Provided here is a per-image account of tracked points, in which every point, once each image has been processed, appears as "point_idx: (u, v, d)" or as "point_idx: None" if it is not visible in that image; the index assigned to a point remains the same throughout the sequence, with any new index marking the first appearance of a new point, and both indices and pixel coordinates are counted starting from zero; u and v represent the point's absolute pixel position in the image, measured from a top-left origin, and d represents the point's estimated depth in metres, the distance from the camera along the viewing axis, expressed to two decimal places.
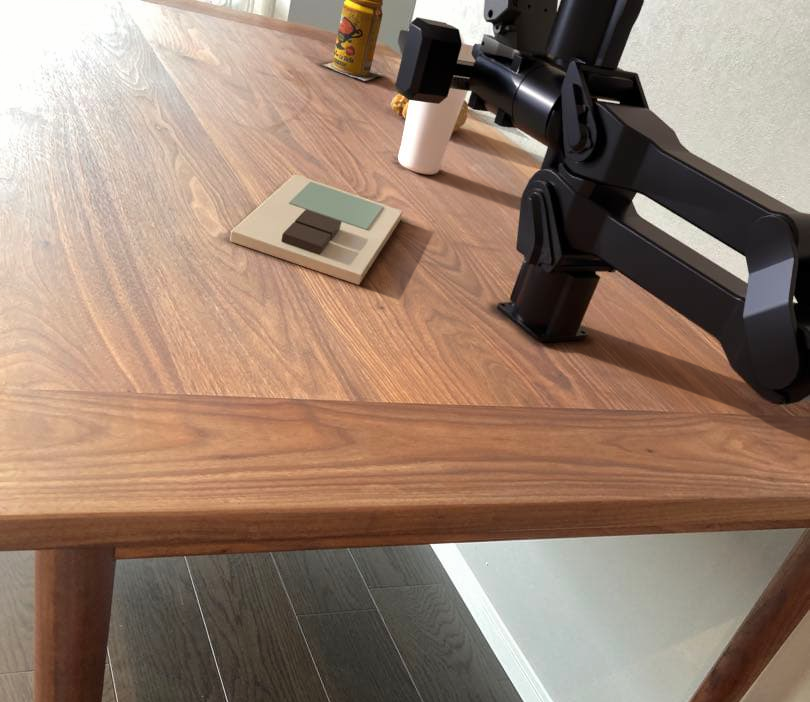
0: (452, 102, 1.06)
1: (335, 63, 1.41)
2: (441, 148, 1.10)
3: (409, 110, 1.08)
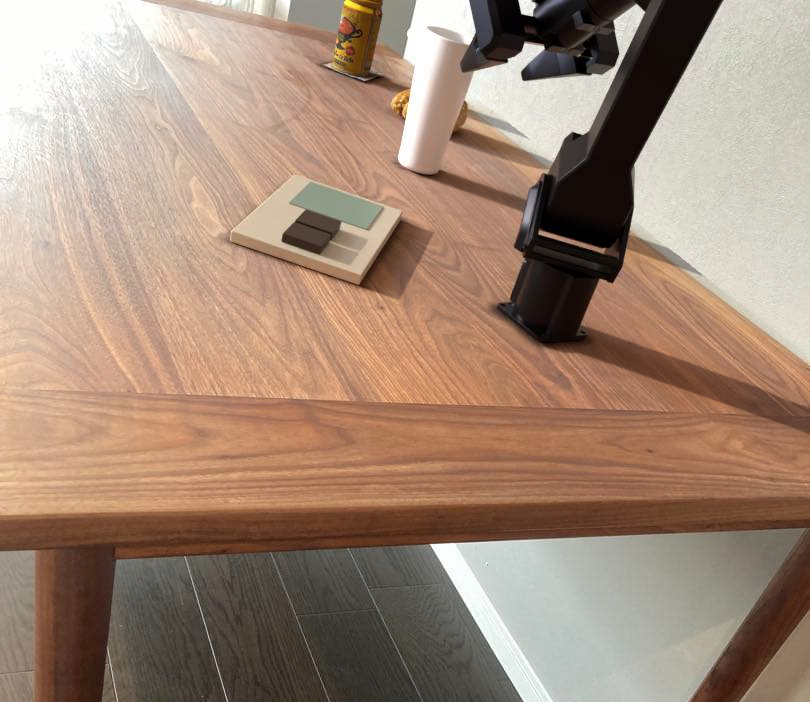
0: (452, 102, 1.06)
1: (335, 63, 1.41)
2: (441, 148, 1.10)
3: (409, 110, 1.08)
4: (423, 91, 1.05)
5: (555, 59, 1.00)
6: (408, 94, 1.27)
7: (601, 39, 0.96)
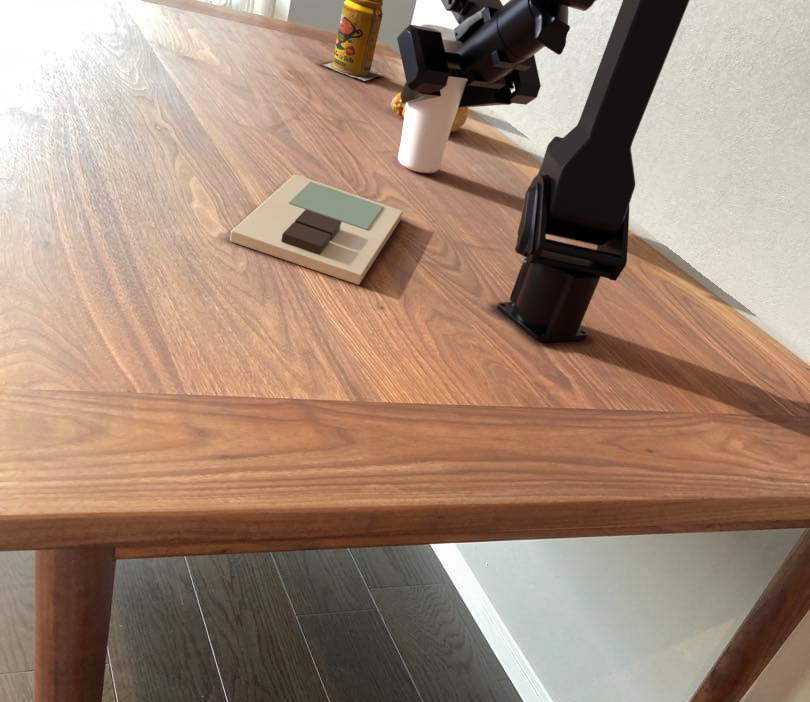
0: (449, 100, 1.06)
1: (335, 63, 1.41)
2: (440, 146, 1.10)
3: (406, 110, 1.08)
4: None
5: (478, 89, 1.08)
6: None
7: (523, 73, 1.05)
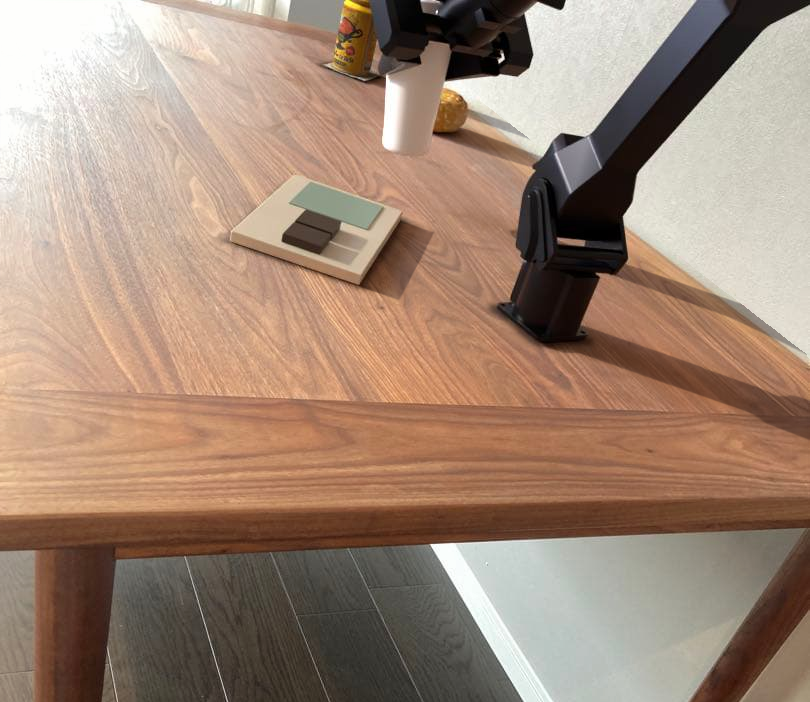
0: (431, 71, 0.94)
1: (335, 63, 1.41)
2: (426, 125, 0.98)
3: (386, 86, 0.97)
4: None
5: (461, 59, 0.96)
6: None
7: (513, 39, 0.93)
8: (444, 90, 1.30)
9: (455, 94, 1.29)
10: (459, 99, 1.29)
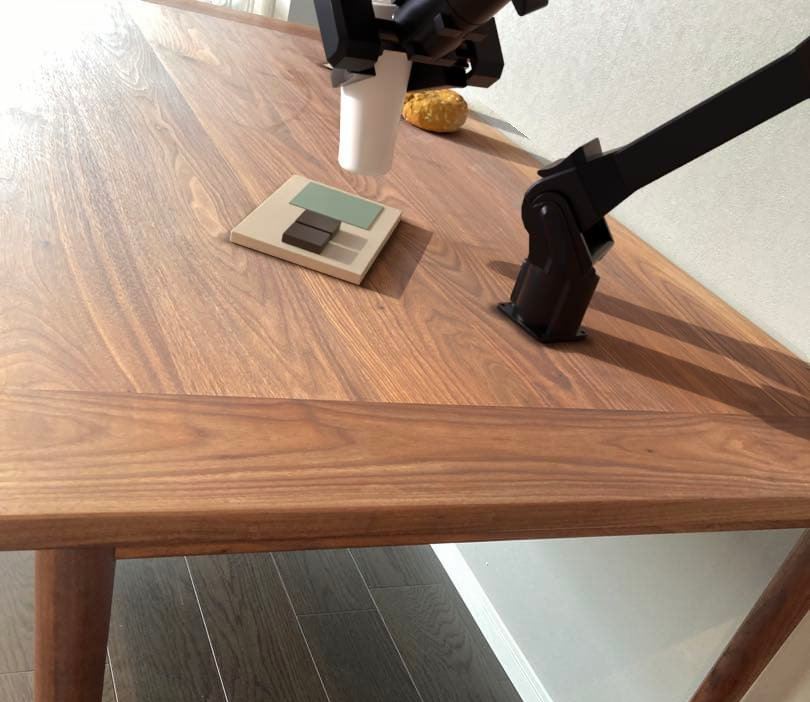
0: (389, 82, 0.84)
1: None
2: (386, 142, 0.88)
3: (341, 99, 0.87)
4: None
5: (424, 69, 0.86)
6: (408, 94, 1.27)
7: (481, 47, 0.83)
8: (444, 90, 1.30)
9: (455, 94, 1.29)
10: (459, 99, 1.29)
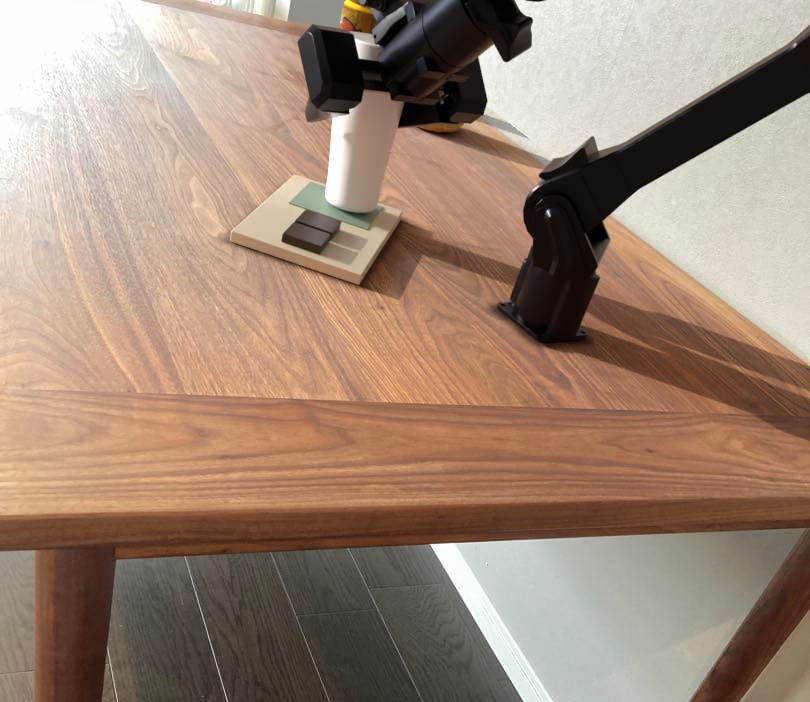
0: (381, 122, 0.85)
1: None
2: (374, 180, 0.89)
3: (332, 135, 0.88)
4: None
5: (418, 105, 0.87)
6: None
7: (464, 85, 0.84)
8: None
9: None
10: None
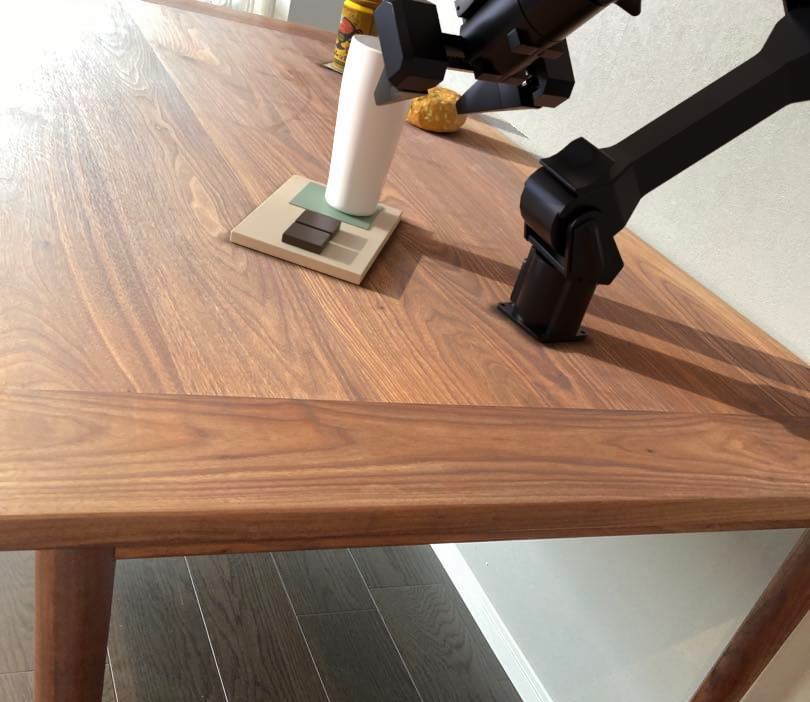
0: (385, 129, 0.85)
1: (335, 63, 1.41)
2: (375, 185, 0.89)
3: (335, 137, 0.87)
4: (349, 114, 0.85)
5: (496, 88, 0.79)
6: None
7: (551, 64, 0.76)
8: (444, 90, 1.30)
9: (455, 94, 1.29)
10: None
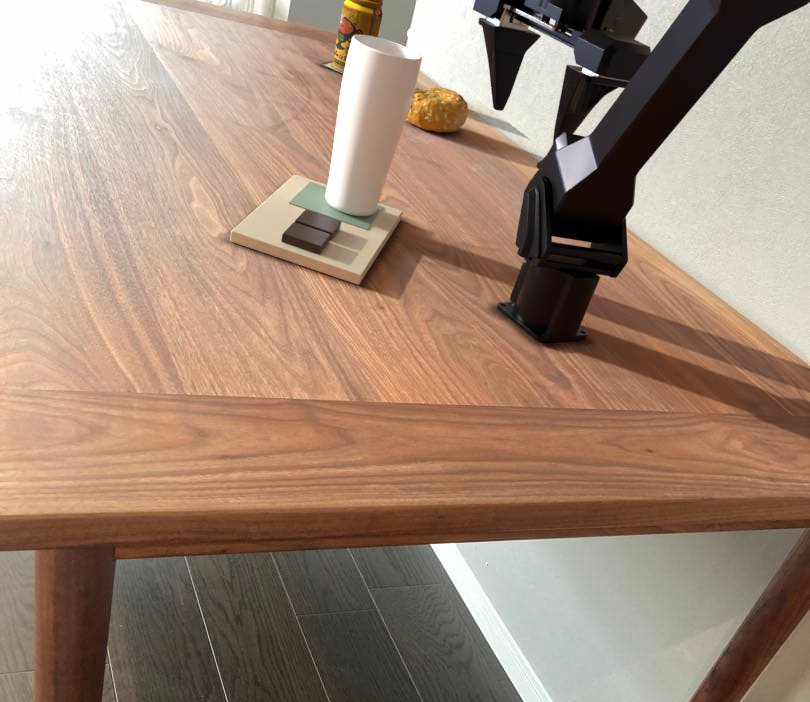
0: (385, 129, 0.85)
1: (335, 63, 1.41)
2: (375, 185, 0.89)
3: (335, 137, 0.87)
4: (349, 114, 0.85)
5: None
6: None
7: (604, 31, 0.77)
8: (444, 90, 1.30)
9: (455, 94, 1.29)
10: (459, 99, 1.29)
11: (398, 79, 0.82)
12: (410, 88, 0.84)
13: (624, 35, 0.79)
